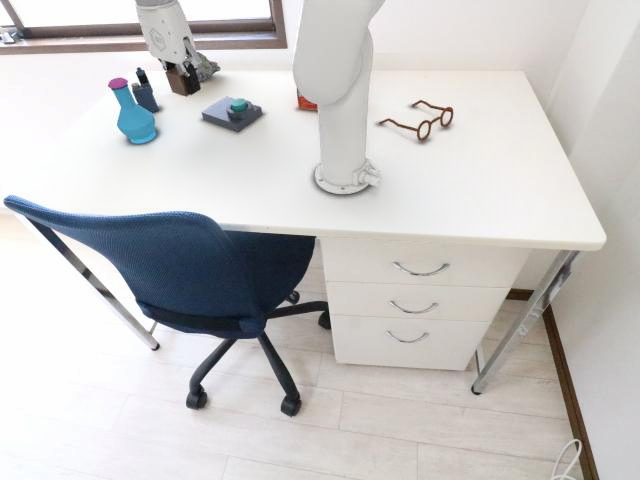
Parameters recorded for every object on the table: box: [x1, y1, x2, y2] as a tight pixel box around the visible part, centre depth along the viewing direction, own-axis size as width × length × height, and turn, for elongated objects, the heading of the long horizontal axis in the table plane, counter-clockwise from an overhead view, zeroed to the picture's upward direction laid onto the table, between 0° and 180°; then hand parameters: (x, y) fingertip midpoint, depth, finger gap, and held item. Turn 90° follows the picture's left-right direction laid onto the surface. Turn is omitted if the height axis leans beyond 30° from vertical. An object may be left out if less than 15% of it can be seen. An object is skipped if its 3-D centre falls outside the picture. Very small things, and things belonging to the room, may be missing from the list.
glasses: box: [379, 99, 454, 142], centre depth 93 cm, size 13×13×5 cm
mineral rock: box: [176, 51, 222, 83], centre depth 115 cm, size 13×11×10 cm
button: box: [231, 97, 247, 111], centre depth 98 cm, size 4×4×2 cm
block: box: [164, 65, 202, 98], centre depth 81 cm, size 4×4×4 cm
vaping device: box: [130, 66, 160, 114], centre depth 103 cm, size 3×5×12 cm, turn 112°
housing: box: [200, 95, 263, 133], centre depth 101 cm, size 13×10×4 cm
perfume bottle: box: [107, 77, 157, 144], centre depth 93 cm, size 9×9×15 cm
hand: (186, 88), depth 82 cm, fingers closed on block, 4 cm apart
